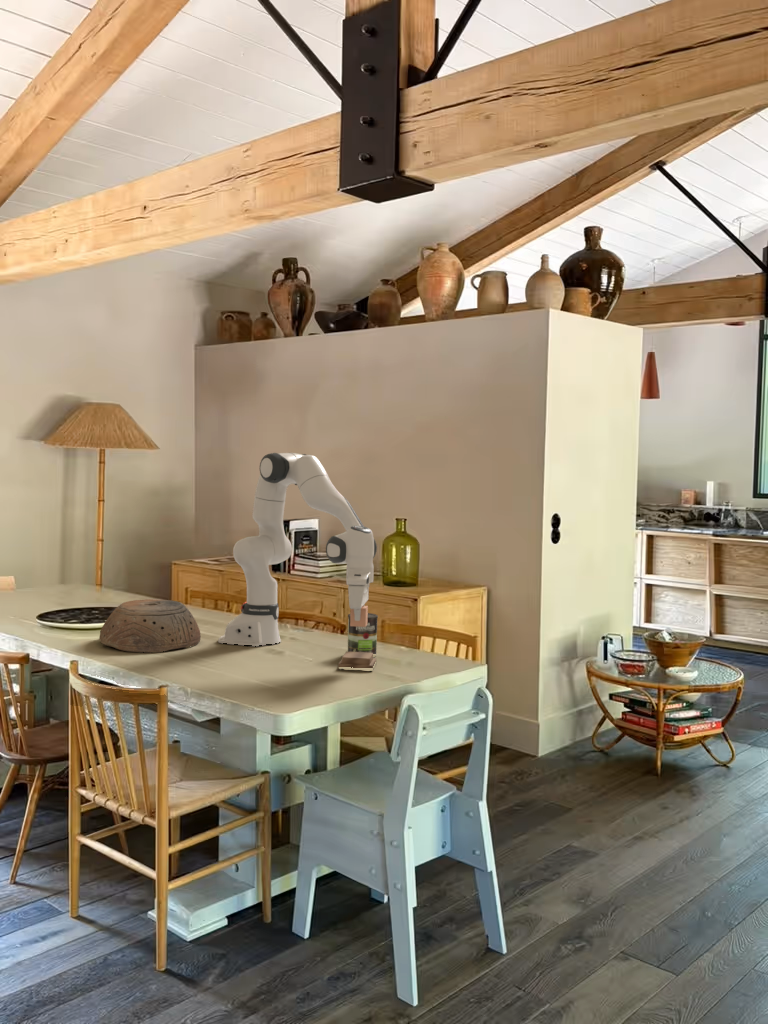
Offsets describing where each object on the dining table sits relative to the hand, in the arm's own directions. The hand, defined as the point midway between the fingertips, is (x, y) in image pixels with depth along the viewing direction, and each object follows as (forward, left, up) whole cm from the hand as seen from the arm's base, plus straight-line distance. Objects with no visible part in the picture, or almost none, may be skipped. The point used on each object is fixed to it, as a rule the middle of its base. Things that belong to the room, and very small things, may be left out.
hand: (358, 618), depth 300 cm
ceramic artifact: (-78, +21, -16) cm, 83 cm away
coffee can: (-1, +18, -16) cm, 24 cm away
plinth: (0, 0, -16) cm, 16 cm away
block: (0, 0, -2) cm, 2 cm away
